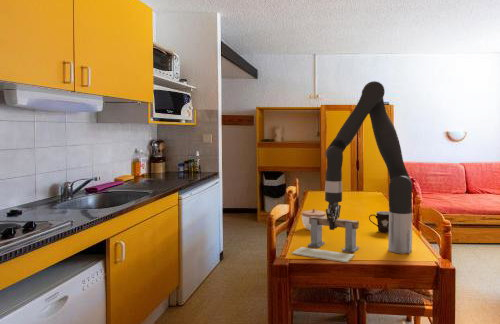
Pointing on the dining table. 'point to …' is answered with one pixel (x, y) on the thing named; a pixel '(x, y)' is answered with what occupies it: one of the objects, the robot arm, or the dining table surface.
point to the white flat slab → (323, 254)
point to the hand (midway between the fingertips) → (333, 228)
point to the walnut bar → (337, 222)
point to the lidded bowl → (308, 214)
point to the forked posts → (317, 242)
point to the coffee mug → (382, 221)
